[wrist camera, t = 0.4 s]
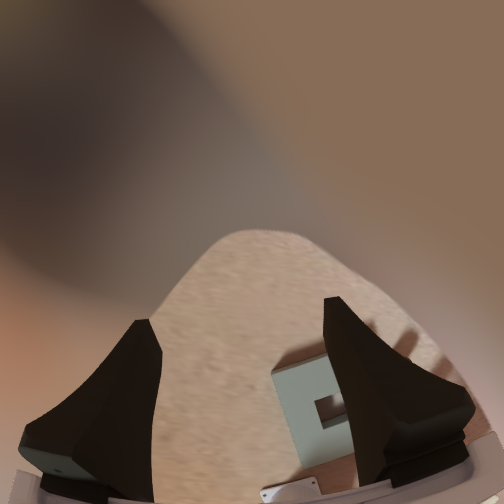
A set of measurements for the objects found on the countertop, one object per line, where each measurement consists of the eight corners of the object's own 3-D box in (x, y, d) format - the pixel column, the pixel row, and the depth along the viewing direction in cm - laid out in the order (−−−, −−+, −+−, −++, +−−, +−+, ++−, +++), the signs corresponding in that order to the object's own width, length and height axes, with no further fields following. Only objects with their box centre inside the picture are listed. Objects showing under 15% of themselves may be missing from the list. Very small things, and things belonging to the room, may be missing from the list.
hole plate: (384, 430, 37) (391, 437, 34) (302, 460, 37) (303, 469, 34) (358, 340, 40) (364, 341, 37) (271, 370, 40) (270, 374, 37)
